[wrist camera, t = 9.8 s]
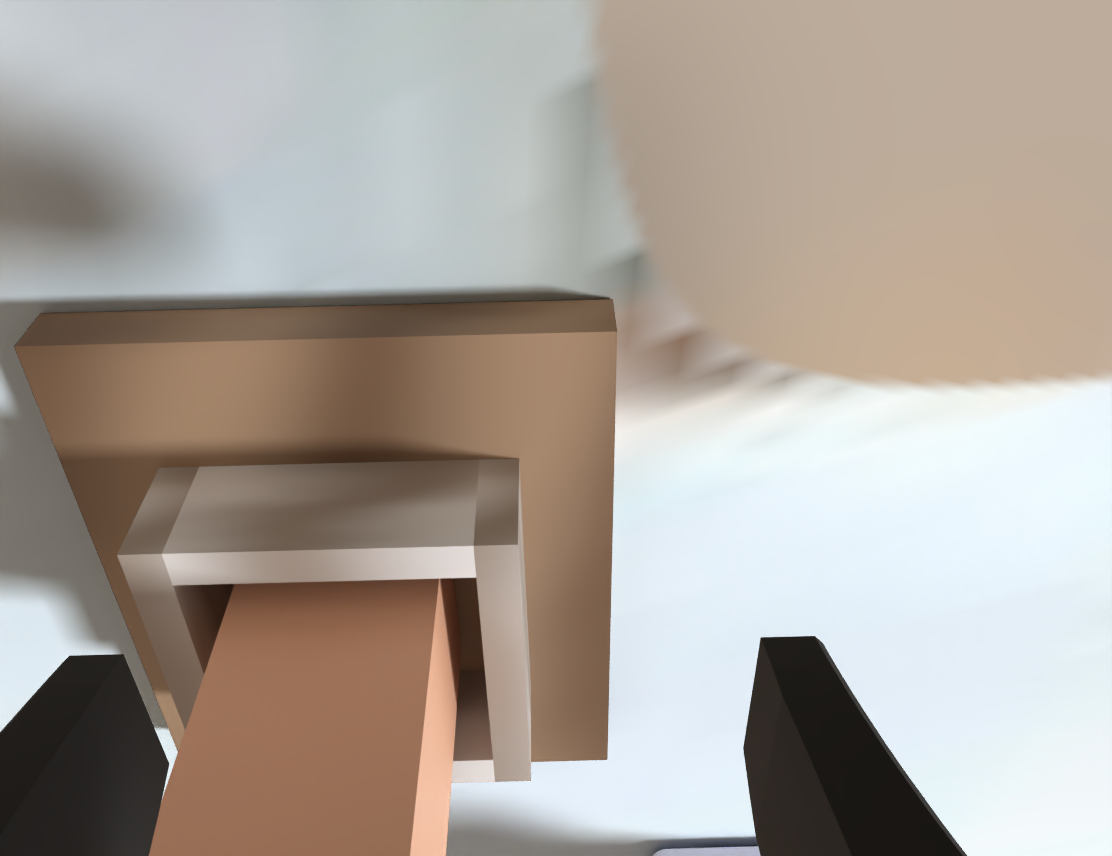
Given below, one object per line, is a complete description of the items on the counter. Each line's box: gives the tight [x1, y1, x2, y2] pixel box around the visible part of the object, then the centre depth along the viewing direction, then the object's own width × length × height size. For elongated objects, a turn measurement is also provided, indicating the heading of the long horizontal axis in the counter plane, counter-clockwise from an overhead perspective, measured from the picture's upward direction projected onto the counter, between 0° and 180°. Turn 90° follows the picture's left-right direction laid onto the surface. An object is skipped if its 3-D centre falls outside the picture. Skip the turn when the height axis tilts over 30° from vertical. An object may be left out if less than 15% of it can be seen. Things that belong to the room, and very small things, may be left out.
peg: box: [149, 578, 462, 856], centre depth 19 cm, size 4×4×8 cm
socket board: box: [14, 299, 617, 783], centre depth 21 cm, size 11×13×4 cm
